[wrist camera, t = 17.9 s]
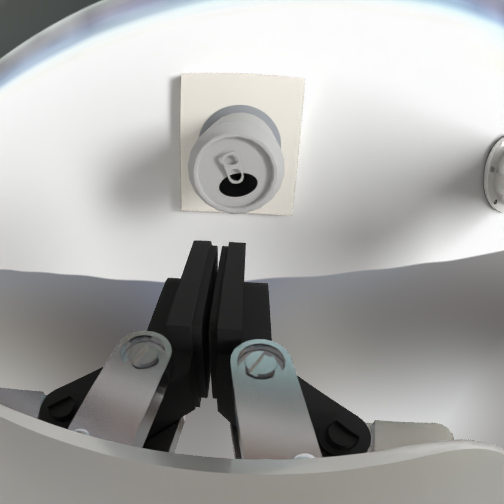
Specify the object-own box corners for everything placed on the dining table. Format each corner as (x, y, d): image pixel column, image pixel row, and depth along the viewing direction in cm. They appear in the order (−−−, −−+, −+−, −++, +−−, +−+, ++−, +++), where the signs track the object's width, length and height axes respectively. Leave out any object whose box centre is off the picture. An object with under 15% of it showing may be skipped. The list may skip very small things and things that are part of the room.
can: (214, 184, 34) (198, 231, 24) (198, 120, 30) (171, 137, 20) (280, 171, 33) (294, 212, 23) (267, 105, 30) (277, 113, 19)
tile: (302, 78, 30) (305, 78, 28) (290, 210, 38) (291, 215, 36) (184, 74, 29) (181, 73, 28) (184, 206, 37) (181, 211, 36)
